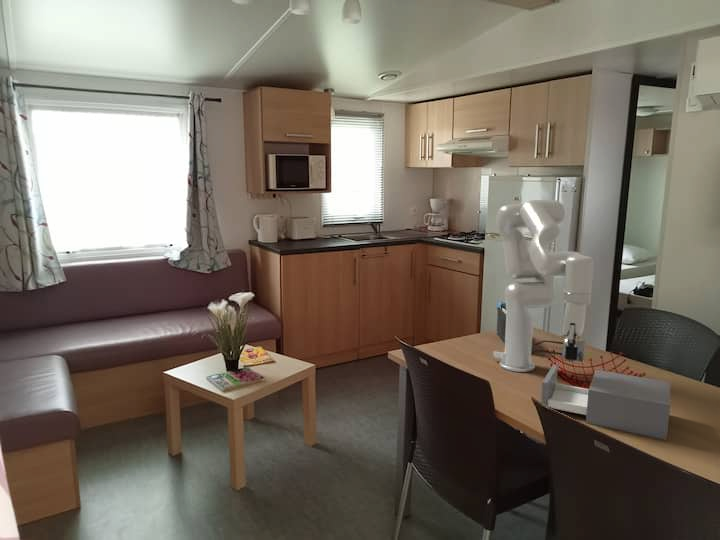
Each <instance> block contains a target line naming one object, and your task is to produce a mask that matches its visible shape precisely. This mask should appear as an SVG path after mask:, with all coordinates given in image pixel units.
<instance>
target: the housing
mask: <svg viewBox="0 0 720 540" xmlns="http://www.w3.org/2000/svg"><path fill="white" fill-rule="evenodd" d="M588 389H589V391H588V403H587V415H585V423H586V424H591V425H594V426H595V425H596V426H600V427H605V428H608V429H612V430H613V429H614V430H618V431H623V432H628V433H633V434H636V435H642V436H645V437H650V438H655V439H660V440H665V441H667V439H668V438H667V437H668V430H669V421H670V414H671V413H670V411H671V382H670V381H665V380H661V379H660V380H659V379H653V378H647V377H642V376H636V375H630V374H624V373H618V372H613V371H606V370H599V369H595V371H594V374H593V377H592V379H591V382H590V385H589V388H588Z"/></svg>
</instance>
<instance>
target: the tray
mask: <svg viewBox="0 0 720 540" xmlns="http://www.w3.org/2000/svg"><path fill="white" fill-rule="evenodd" d="M558 366H559V365H558V364H552V366H551V367H550V369H549V371H548V372H547V374H546V375H545V377H544V379H543V380H542V385H541V386H542V387H541V400H540V402H541V403H543V404H545V405H547V406H549V407H548V408H550V407H551V409H555V410H560V411H565V412H569V413H575V414H579V415H584V416H586V415H587V403H588V391H589V388H584V387H579V386H574V385H567V384H564V383H558V381H557V380H558V368H559V367H558ZM541 403H540V404H541Z"/></svg>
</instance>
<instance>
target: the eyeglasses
mask: <svg viewBox="0 0 720 540" xmlns="http://www.w3.org/2000/svg"><path fill="white" fill-rule="evenodd" d="M544 342H546V343H553V344H558V345H563V341H556V340H555V341H553V340H546V339H545V340H542V341H539V342H537V343H532V346H533V345H534V346H535V345H536V346H538V345H540V344H542V343H544ZM537 352H540V353H548V354H553V355H559V356H562V352H557V351H549V350H543V349H542V350H541V349H535V350H533V351H531V355H532V354H534V353H537Z"/></svg>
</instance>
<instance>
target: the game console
mask: <svg viewBox="0 0 720 540" xmlns="http://www.w3.org/2000/svg"><path fill="white" fill-rule="evenodd" d="M496 310H497V315H496V316H497V317H496V336H497V335H498V336H499V337H500V338H499V337H498V336H497V337H498V338H499V339H500V341H502V342H503V343H504V344H505V333H506V302H502V301H500V302H499V303H498V306H497V307H496Z"/></svg>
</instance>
